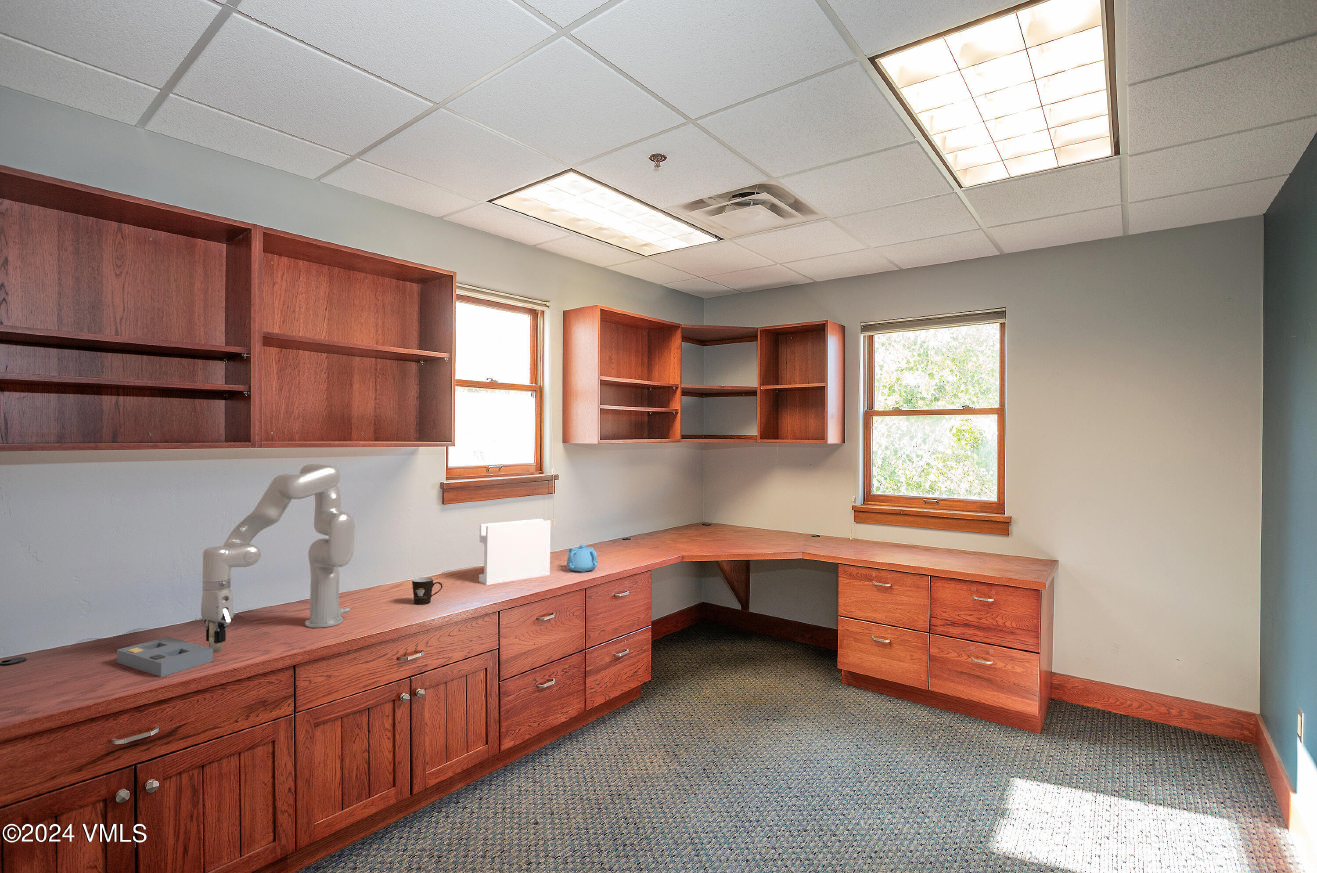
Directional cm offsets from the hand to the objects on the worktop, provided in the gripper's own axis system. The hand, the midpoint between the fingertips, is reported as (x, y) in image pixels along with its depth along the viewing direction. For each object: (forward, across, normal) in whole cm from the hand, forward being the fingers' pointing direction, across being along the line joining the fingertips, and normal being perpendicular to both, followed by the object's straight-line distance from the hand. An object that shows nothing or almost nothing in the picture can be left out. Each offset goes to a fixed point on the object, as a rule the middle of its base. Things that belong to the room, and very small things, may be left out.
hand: (215, 640), depth 204 cm
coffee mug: (+3, -16, -74) cm, 76 cm away
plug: (+3, 0, 0) cm, 3 cm away
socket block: (+3, +3, +13) cm, 14 cm away
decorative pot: (+4, -39, -161) cm, 166 cm away
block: (+4, -20, -129) cm, 131 cm away
